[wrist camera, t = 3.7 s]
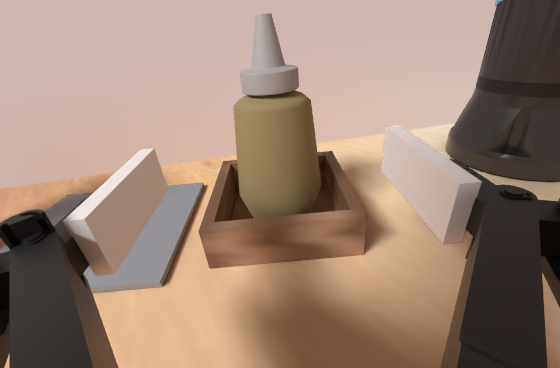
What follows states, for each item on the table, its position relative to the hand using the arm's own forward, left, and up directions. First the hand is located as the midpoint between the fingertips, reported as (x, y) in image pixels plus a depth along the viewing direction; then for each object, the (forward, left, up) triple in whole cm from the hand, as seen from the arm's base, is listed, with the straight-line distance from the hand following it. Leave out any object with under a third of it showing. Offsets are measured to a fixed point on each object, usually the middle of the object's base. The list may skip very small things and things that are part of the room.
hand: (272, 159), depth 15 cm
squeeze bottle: (0, -9, -11) cm, 14 cm away
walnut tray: (0, -9, -10) cm, 14 cm away
